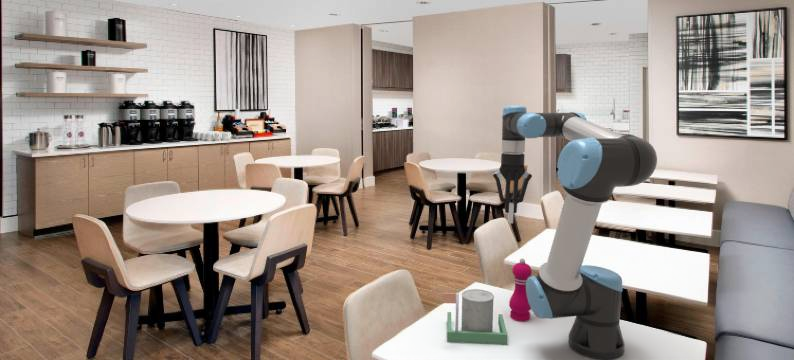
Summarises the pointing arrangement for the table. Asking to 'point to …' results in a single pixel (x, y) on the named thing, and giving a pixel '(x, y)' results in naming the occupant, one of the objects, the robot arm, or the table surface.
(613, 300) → the robot arm
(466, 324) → the concrete cylinder
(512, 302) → the pepper mill
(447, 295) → the putting stop
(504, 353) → the table surface
